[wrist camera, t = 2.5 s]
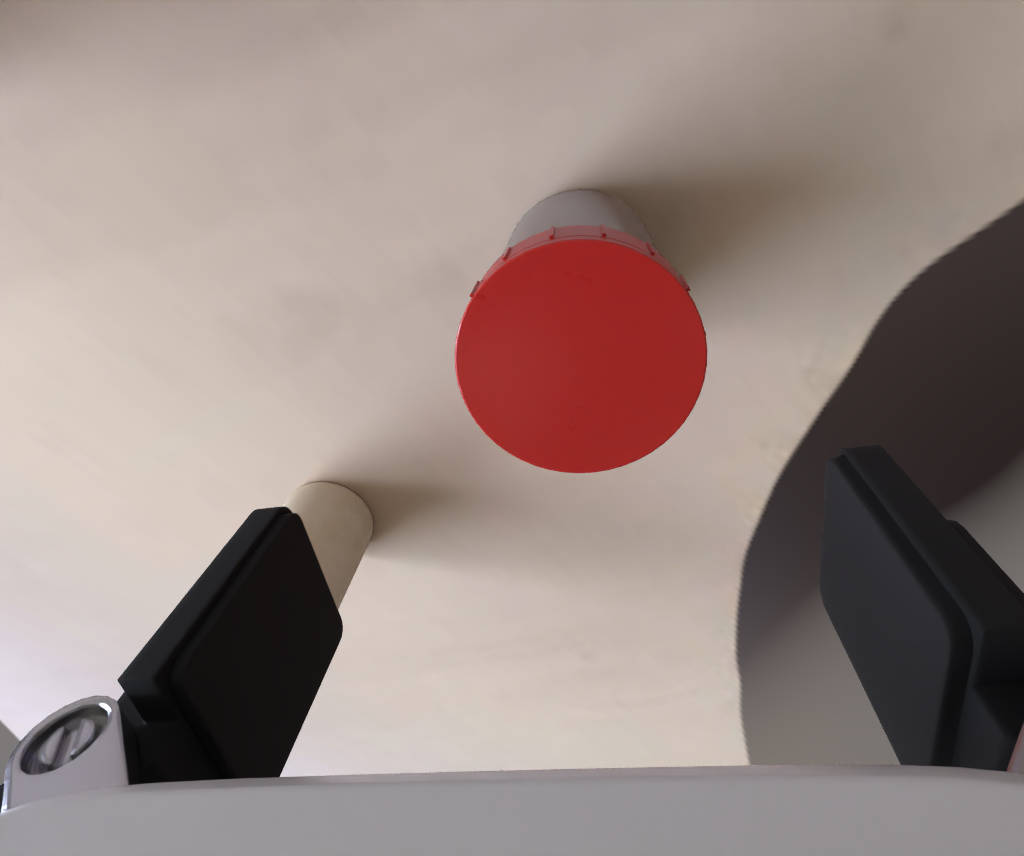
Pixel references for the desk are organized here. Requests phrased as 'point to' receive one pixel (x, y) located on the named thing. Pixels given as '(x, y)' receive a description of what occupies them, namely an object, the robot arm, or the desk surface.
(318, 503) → the candle
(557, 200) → the jar
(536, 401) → the lid
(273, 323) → the desk surface
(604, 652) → the desk surface
